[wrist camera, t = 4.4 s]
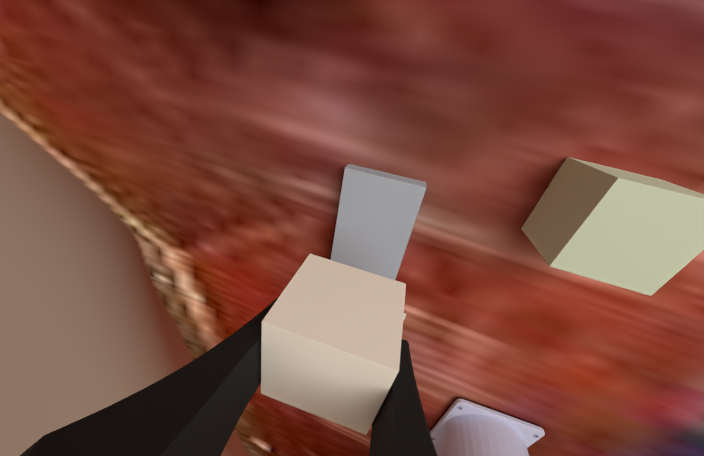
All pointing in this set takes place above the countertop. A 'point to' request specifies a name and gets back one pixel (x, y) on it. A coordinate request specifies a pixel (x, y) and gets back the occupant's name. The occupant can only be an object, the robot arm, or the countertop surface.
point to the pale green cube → (616, 226)
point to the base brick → (375, 219)
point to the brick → (333, 342)
